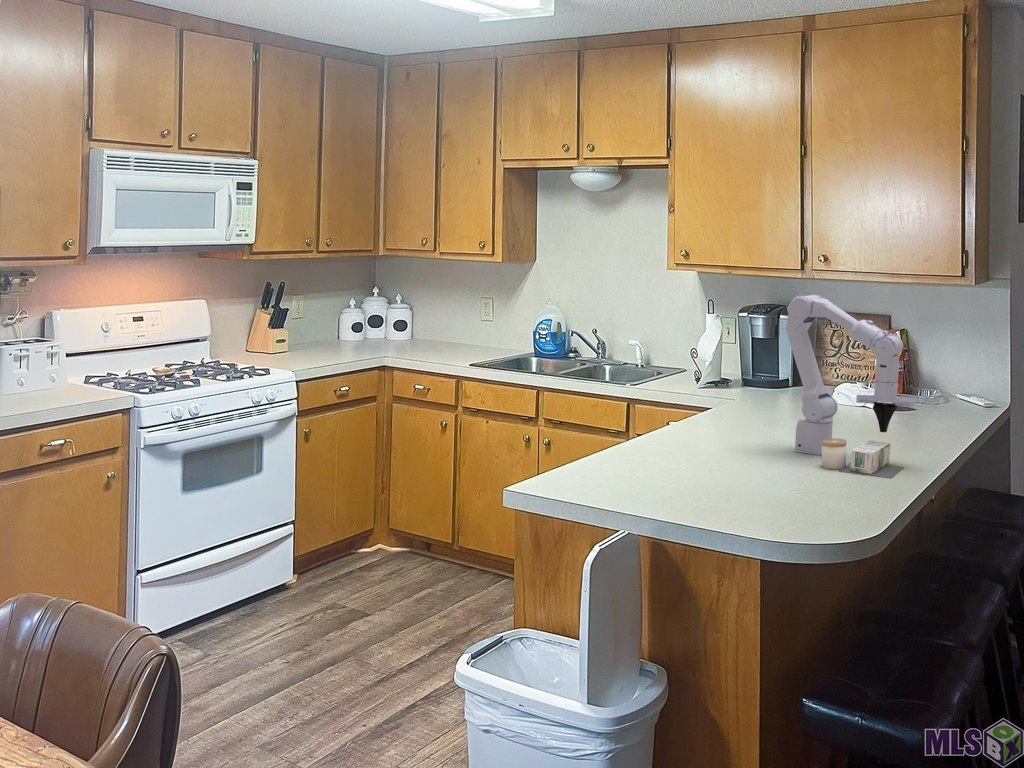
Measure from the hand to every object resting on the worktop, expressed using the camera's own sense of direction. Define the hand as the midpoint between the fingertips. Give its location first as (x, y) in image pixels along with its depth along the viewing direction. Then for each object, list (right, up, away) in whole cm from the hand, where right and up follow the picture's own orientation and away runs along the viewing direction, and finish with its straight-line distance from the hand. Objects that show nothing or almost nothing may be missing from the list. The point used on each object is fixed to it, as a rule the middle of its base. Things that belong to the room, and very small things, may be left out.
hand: (883, 431), depth 263 cm
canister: (-15, -9, -5) cm, 18 cm away
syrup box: (-1, -5, 0) cm, 5 cm away
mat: (-6, -10, -7) cm, 13 cm away
